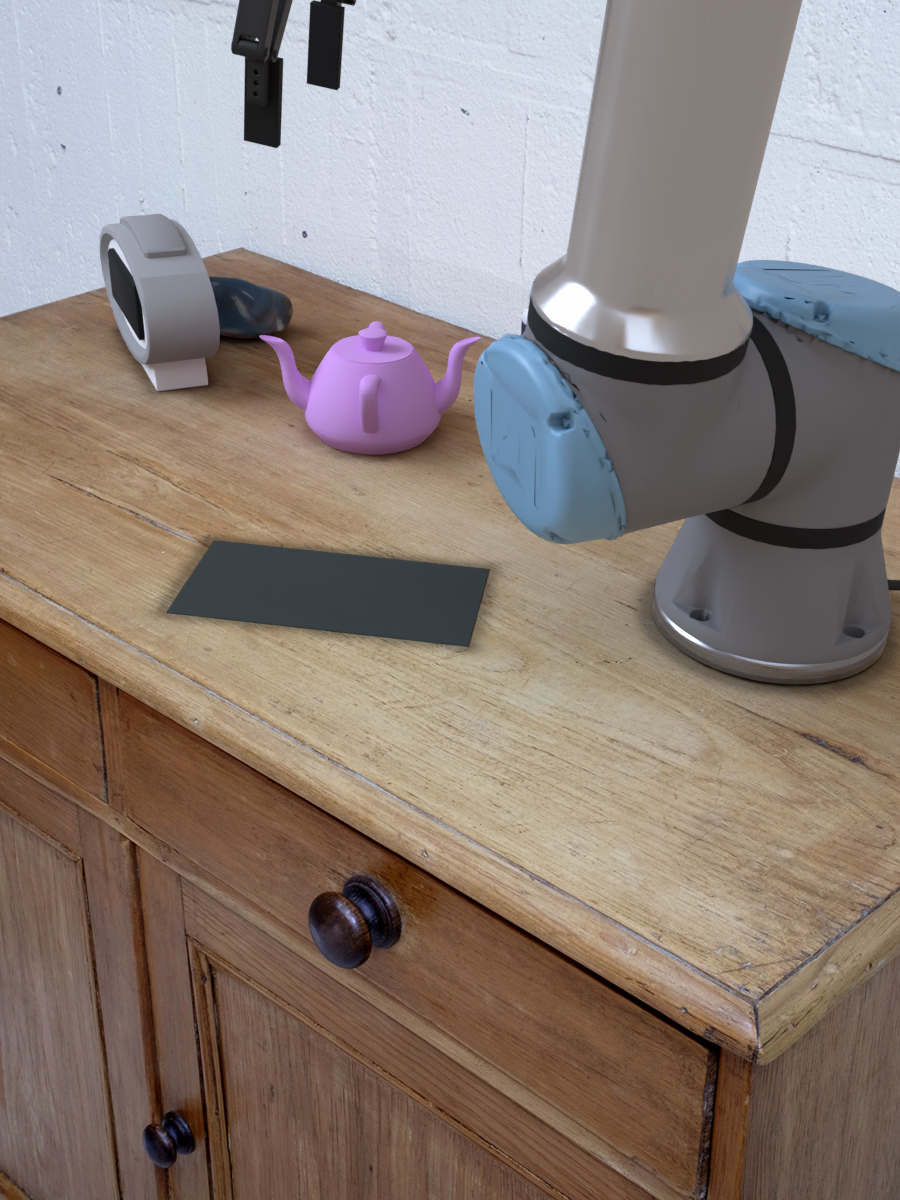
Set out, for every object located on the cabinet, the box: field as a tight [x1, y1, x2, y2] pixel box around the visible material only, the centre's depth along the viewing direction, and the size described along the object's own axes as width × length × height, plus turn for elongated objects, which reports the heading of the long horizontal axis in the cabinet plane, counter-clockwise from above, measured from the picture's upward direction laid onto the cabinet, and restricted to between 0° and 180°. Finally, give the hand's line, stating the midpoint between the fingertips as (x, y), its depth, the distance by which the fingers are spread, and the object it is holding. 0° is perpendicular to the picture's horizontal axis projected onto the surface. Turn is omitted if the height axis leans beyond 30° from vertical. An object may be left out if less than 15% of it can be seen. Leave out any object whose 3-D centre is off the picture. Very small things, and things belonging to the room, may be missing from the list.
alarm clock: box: [98, 213, 221, 392], centre depth 121 cm, size 23×6×13 cm, turn 23°
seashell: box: [209, 276, 294, 340], centre depth 130 cm, size 6×9×10 cm
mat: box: [165, 539, 490, 648], centre depth 89 cm, size 20×10×1 cm, turn 81°
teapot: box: [259, 320, 481, 456], centre depth 109 cm, size 12×14×9 cm
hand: (294, 113), depth 105 cm, fingers open, 13 cm apart
